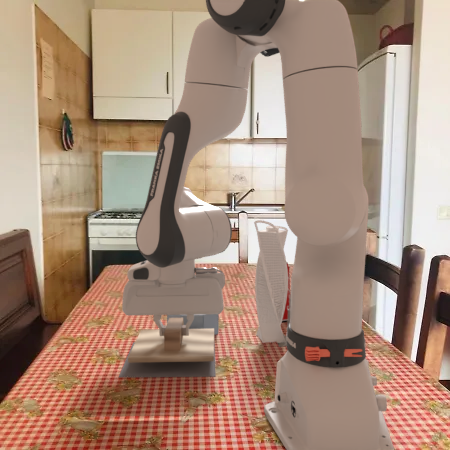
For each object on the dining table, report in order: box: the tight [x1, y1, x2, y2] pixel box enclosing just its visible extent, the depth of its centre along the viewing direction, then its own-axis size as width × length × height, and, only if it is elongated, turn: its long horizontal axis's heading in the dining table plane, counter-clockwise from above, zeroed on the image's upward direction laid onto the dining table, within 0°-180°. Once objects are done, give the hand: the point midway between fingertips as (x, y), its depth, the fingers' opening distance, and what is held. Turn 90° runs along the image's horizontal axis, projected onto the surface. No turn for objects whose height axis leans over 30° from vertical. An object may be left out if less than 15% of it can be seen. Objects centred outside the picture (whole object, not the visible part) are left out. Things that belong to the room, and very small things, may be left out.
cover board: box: [127, 318, 215, 363], centre depth 98 cm, size 16×16×4 cm
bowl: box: [166, 314, 220, 336], centre depth 115 cm, size 12×12×6 cm
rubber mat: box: [118, 341, 217, 378], centre depth 99 cm, size 18×18×1 cm
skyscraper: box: [253, 219, 291, 348], centre depth 109 cm, size 8×8×28 cm
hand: (174, 335), depth 98 cm, fingers closed on cover board, 3 cm apart
